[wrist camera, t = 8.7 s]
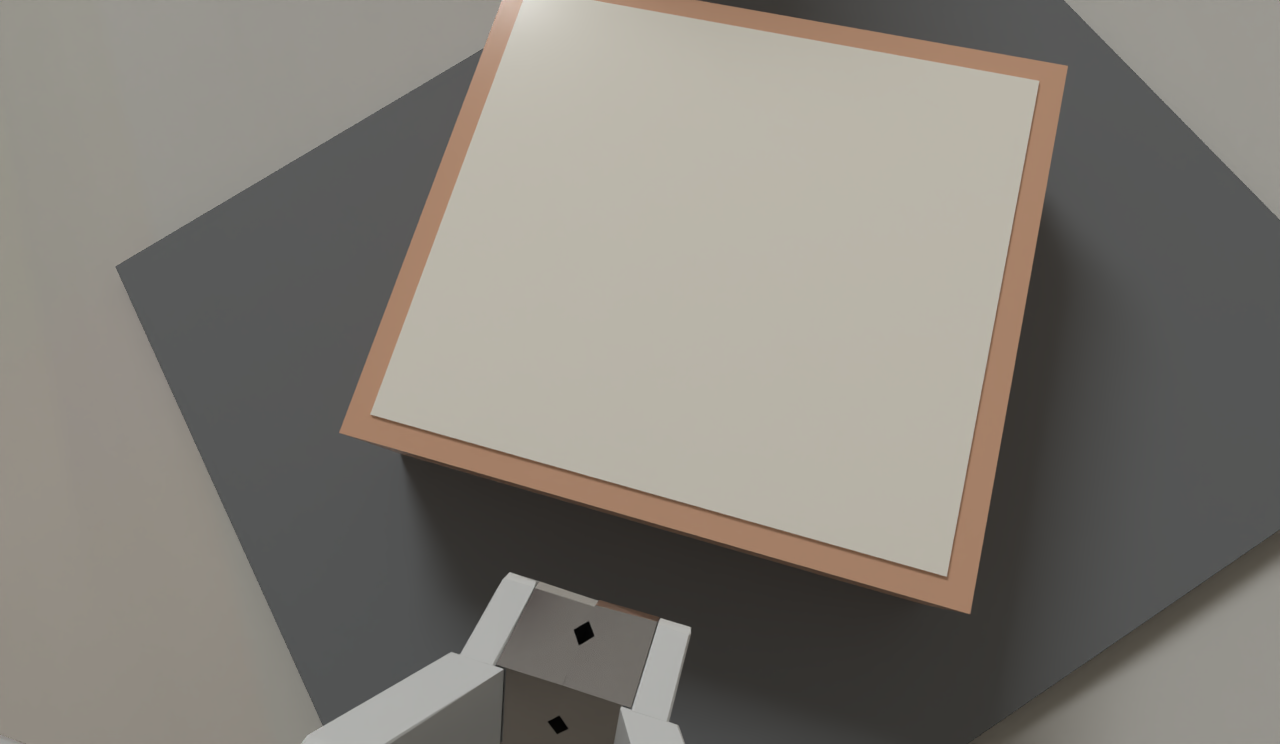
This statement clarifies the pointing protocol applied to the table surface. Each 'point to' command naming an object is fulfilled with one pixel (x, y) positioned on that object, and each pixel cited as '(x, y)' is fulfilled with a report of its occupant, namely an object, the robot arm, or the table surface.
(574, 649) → the robot arm
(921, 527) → the tile
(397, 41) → the table surface
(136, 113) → the table surface
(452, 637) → the mat
